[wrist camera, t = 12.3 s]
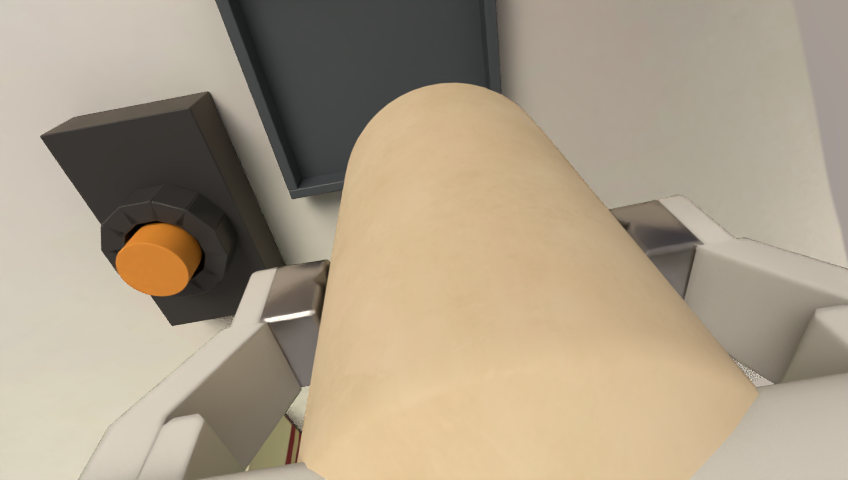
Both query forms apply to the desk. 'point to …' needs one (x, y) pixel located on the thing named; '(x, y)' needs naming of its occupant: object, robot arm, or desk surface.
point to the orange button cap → (159, 259)
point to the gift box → (278, 447)
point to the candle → (500, 316)
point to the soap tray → (350, 69)
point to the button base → (171, 193)
